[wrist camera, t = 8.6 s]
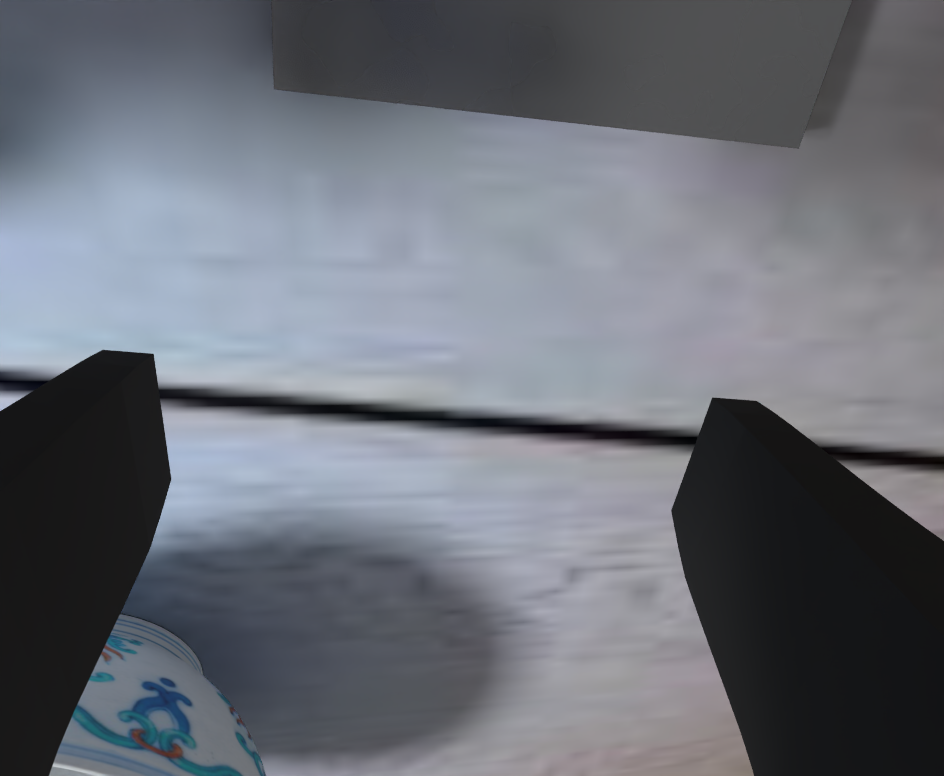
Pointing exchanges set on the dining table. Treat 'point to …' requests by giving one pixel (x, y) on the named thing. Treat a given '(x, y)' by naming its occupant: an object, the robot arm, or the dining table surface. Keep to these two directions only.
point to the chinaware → (153, 714)
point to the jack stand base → (573, 59)
